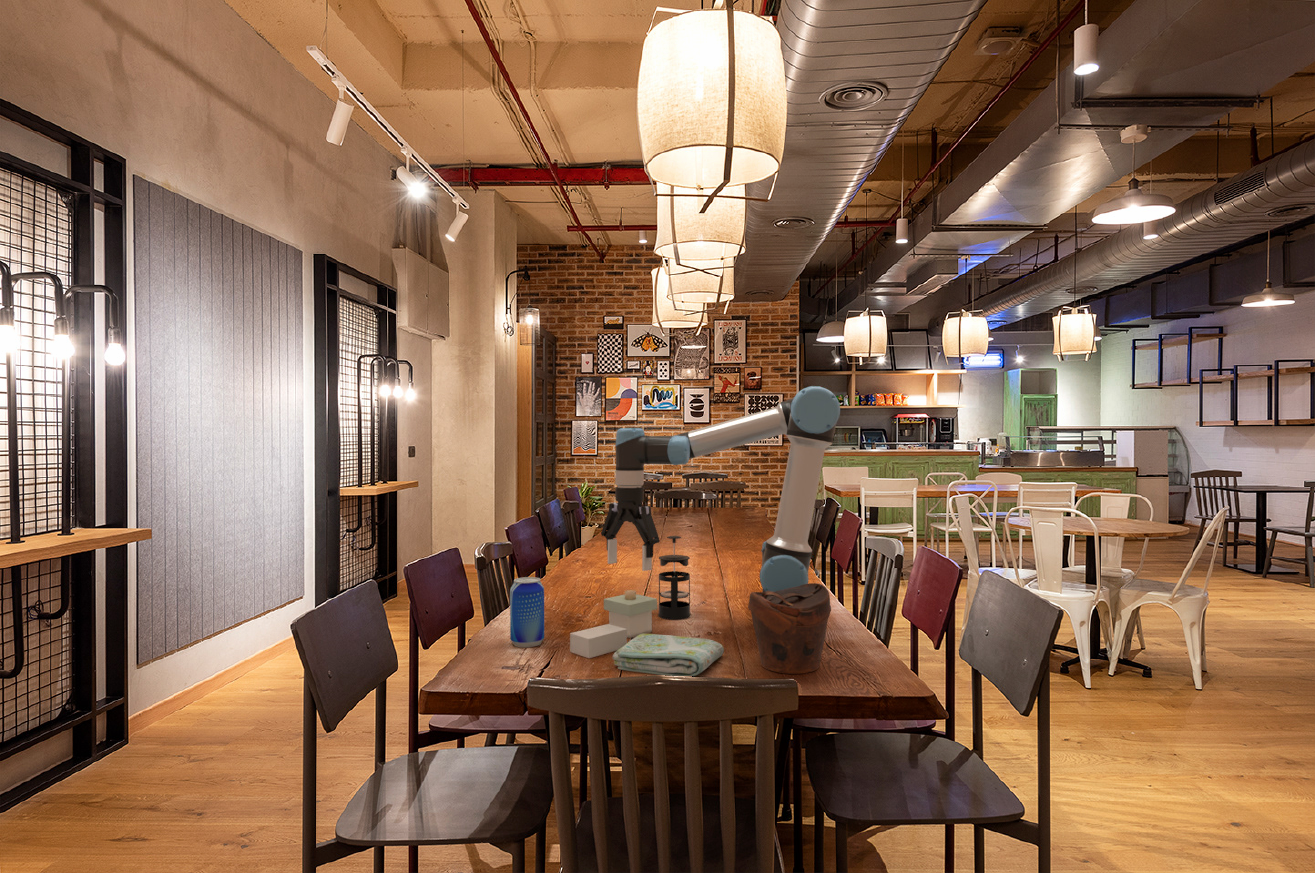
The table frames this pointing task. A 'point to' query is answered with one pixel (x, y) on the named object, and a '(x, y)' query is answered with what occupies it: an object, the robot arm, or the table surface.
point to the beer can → (527, 612)
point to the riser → (598, 640)
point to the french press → (674, 588)
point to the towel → (667, 655)
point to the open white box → (632, 623)
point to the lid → (630, 603)
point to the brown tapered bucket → (791, 627)
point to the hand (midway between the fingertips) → (629, 566)
